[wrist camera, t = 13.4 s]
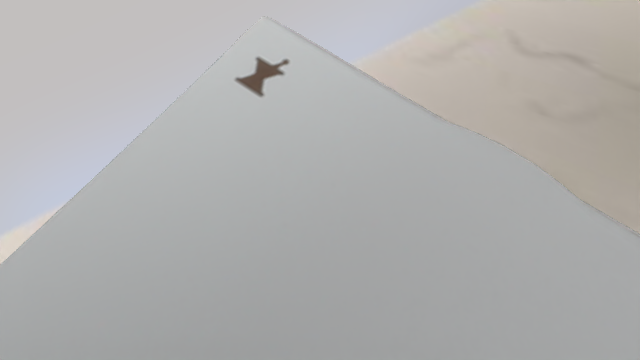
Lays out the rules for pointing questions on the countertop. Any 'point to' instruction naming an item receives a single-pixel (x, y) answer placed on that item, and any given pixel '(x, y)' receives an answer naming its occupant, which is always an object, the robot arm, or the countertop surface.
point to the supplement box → (318, 235)
